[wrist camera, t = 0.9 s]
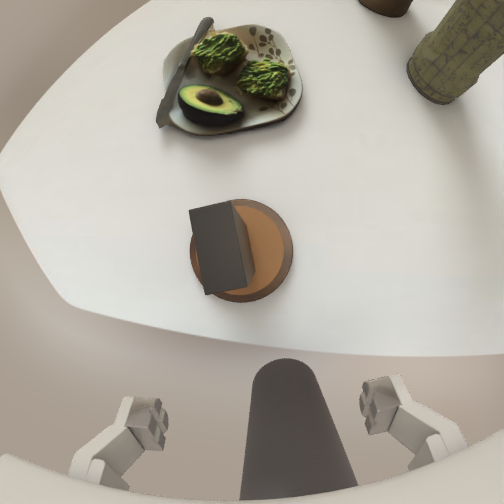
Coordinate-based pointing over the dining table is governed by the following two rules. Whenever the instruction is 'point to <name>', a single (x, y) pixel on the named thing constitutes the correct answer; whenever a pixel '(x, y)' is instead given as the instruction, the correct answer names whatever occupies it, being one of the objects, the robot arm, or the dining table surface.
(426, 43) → the thermos
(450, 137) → the dining table surface
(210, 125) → the salad plate
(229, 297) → the swivel stand
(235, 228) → the slab on wooden base
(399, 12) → the pillar candle
